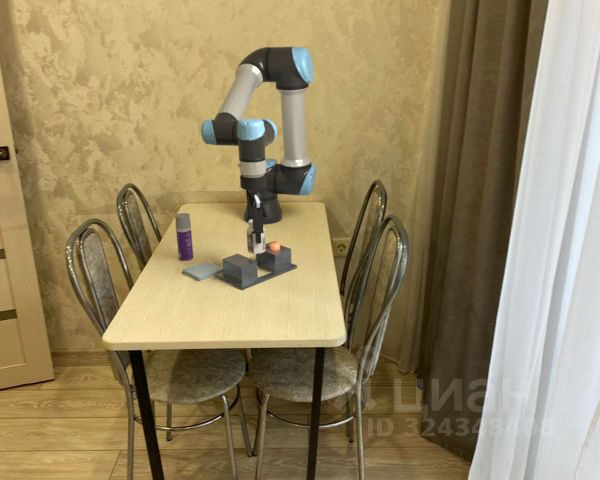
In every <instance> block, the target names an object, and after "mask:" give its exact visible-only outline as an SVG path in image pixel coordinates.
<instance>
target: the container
mask: <svg viewBox="0 0 600 480" xmlns="http://www.w3.org/2000/svg"><path fill="white" fill-rule="evenodd" d="M174 216H175V219H174V221H175V233H176V242H177V253H178V260H179V261H180V262H191V261H192V260H194V249H193V247H194V246H193V239H192V238H193V236H192V235H193V234H192V224H191V218H190V217H191V216H190V214H189V213H187V212H181V213H177V214H175V215H174Z"/></svg>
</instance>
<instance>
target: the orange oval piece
mask: <svg viewBox="0 0 600 480" xmlns="http://www.w3.org/2000/svg"><path fill="white" fill-rule="evenodd" d="M268 243H269V249H270V250H272V251H276V250H279V249H280V245H281V242H280V241H276V240H274V241H269V242H268Z"/></svg>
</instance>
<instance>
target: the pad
mask: <svg viewBox="0 0 600 480" xmlns="http://www.w3.org/2000/svg"><path fill="white" fill-rule="evenodd" d="M221 272H223V267H219V266H218V265H217V264H213V263H211V262H209V261H207V260H206V261H203V262H200V263H196V264H195V265H192V266H188V267H185V268H183V269H182V273H183V274H185V275H186V276H189V277H190V278H193V279H195V280H196V281H199V282H201V281H203V280H206V279H209V278H211V277H215V274H218V273H221Z"/></svg>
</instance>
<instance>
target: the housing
mask: <svg viewBox="0 0 600 480" xmlns="http://www.w3.org/2000/svg"><path fill="white" fill-rule="evenodd" d="M269 243H270V242H268V243H267V242H266V243H265V251H264V252H263V253H261V254H255V259H252V258H250V257H247V256H245V255H242V254H241V253H236V254H233V255H230V256H227V257H224V258H222V259H221V261H222V262H221V264H222V269H223V272H221V273H218V274H215V276H214V277H215V278H216V279H219V280H221V281H222V282H225V283H226V284H229V285H231V286H232V287H233V286H234V287H236V288H237V289H240V290H242V291H244V290H247V289H249V288H251V287H255V286H257V285H258V284H261V283H264V282H266V281H269V280H271V279H274V278H276V277H278V276H280V275H281V276H282V275H283V274H285V273H289V272H290V271H293V270H296V269H298V265H297V264H294V263H292V248H290V247H286V246H284V245H281V244H280V249H279V250H276V251H272V250H270V249H269ZM258 267H260V268H261V269H264V270H267V271H269V272H268V273H266V274H264V275H261V276H259V275H258Z"/></svg>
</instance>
